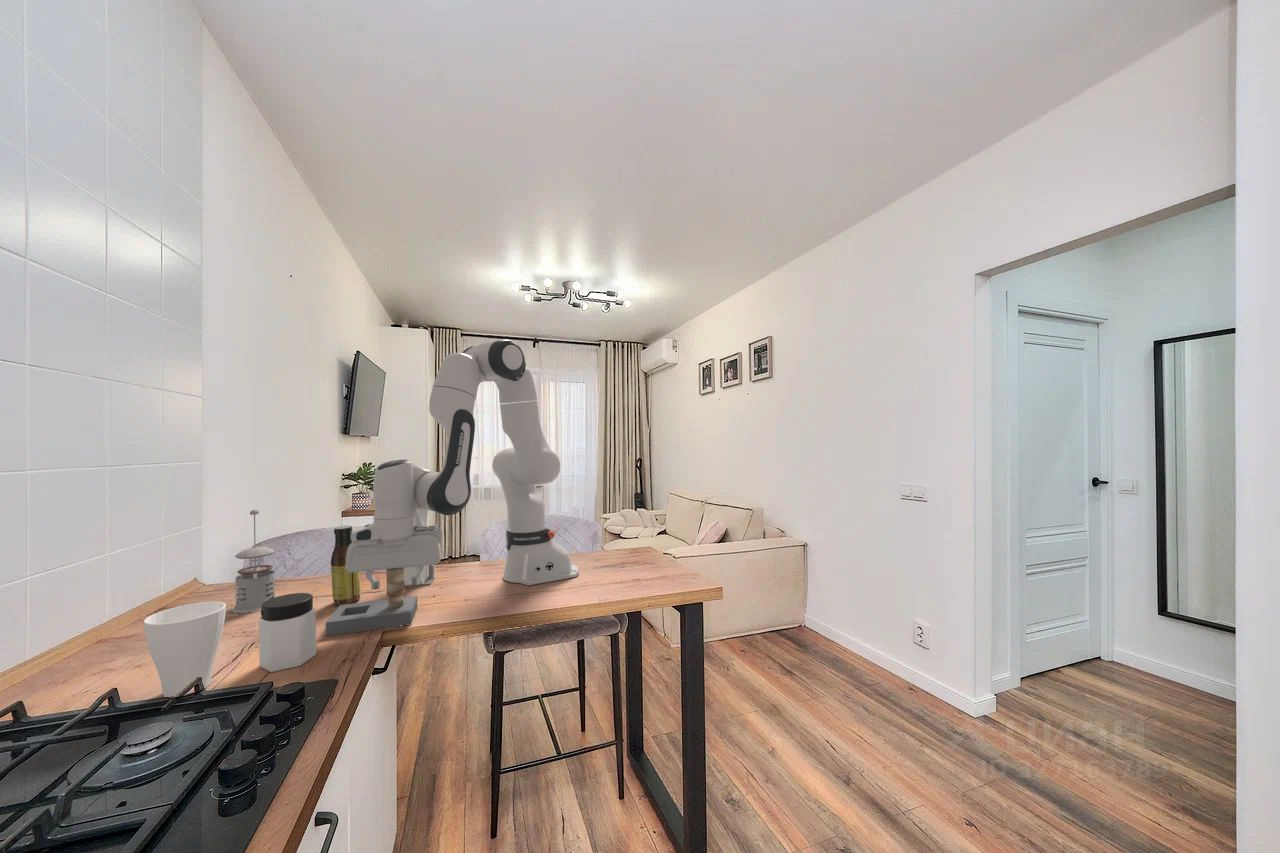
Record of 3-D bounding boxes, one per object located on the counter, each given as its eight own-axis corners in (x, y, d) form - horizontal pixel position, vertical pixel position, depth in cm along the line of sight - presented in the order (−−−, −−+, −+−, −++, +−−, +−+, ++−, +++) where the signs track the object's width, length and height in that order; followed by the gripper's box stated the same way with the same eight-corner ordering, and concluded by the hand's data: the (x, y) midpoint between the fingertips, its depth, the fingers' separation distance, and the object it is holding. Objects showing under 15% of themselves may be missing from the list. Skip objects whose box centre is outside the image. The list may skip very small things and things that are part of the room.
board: (417, 607, 120) (417, 596, 120) (411, 624, 110) (411, 611, 110) (340, 617, 115) (340, 605, 115) (325, 636, 104) (325, 622, 104)
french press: (230, 616, 116) (228, 514, 116) (231, 603, 125) (230, 508, 125) (280, 606, 123) (279, 509, 123) (278, 595, 132) (277, 504, 132)
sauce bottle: (352, 596, 130) (351, 523, 130) (365, 600, 126) (364, 525, 126) (326, 604, 124) (325, 527, 124) (339, 608, 121) (338, 529, 121)
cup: (136, 714, 76) (135, 630, 76) (152, 686, 85) (151, 610, 85) (223, 692, 82) (222, 614, 82) (230, 668, 91) (229, 597, 91)
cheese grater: (429, 586, 136) (428, 488, 137) (398, 589, 135) (397, 490, 135) (435, 577, 145) (433, 485, 145) (406, 580, 143) (404, 486, 143)
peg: (406, 601, 116) (405, 564, 116) (403, 607, 112) (403, 569, 112) (388, 604, 115) (387, 566, 115) (385, 609, 111) (384, 571, 111)
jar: (284, 650, 98) (284, 592, 98) (324, 650, 98) (323, 591, 98) (248, 673, 89) (247, 608, 89) (292, 672, 89) (291, 608, 89)
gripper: (442, 522, 120) (443, 577, 120) (350, 529, 113) (351, 587, 113) (440, 527, 114) (441, 585, 114) (342, 534, 107) (343, 596, 107)
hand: (395, 586), depth 114 cm, fingers open, 7 cm apart
